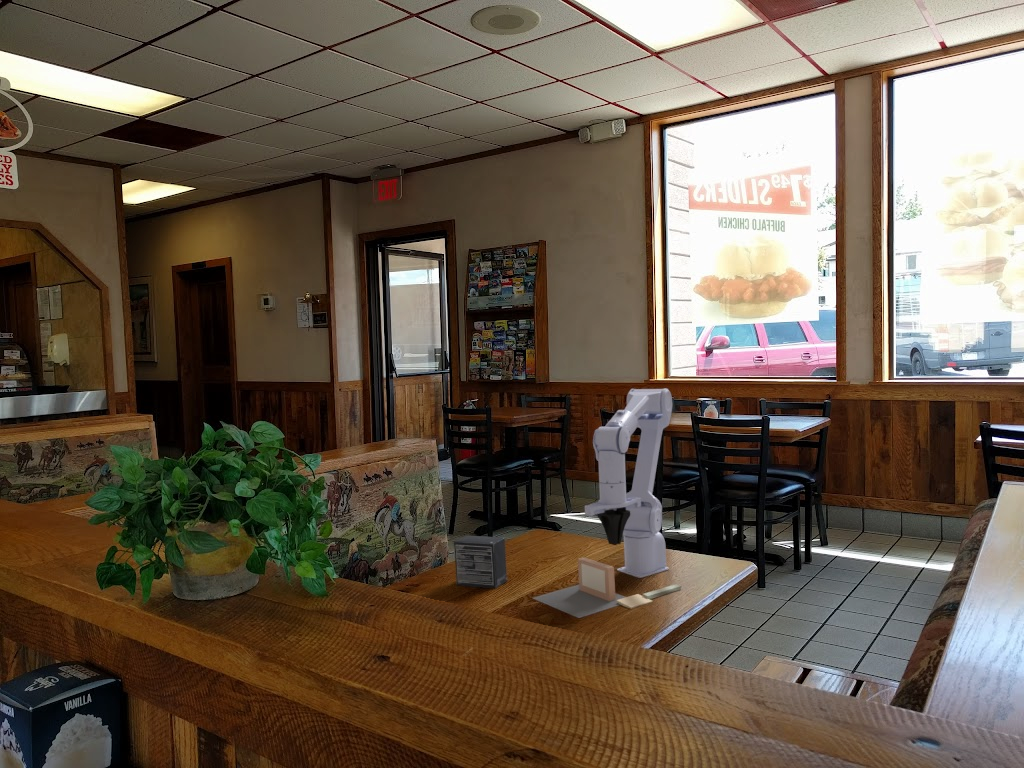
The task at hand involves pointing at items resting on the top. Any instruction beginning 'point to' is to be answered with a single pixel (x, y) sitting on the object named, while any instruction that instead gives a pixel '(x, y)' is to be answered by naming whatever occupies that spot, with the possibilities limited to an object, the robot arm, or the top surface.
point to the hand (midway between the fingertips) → (614, 543)
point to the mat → (577, 601)
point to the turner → (646, 597)
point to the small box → (480, 561)
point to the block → (596, 578)
